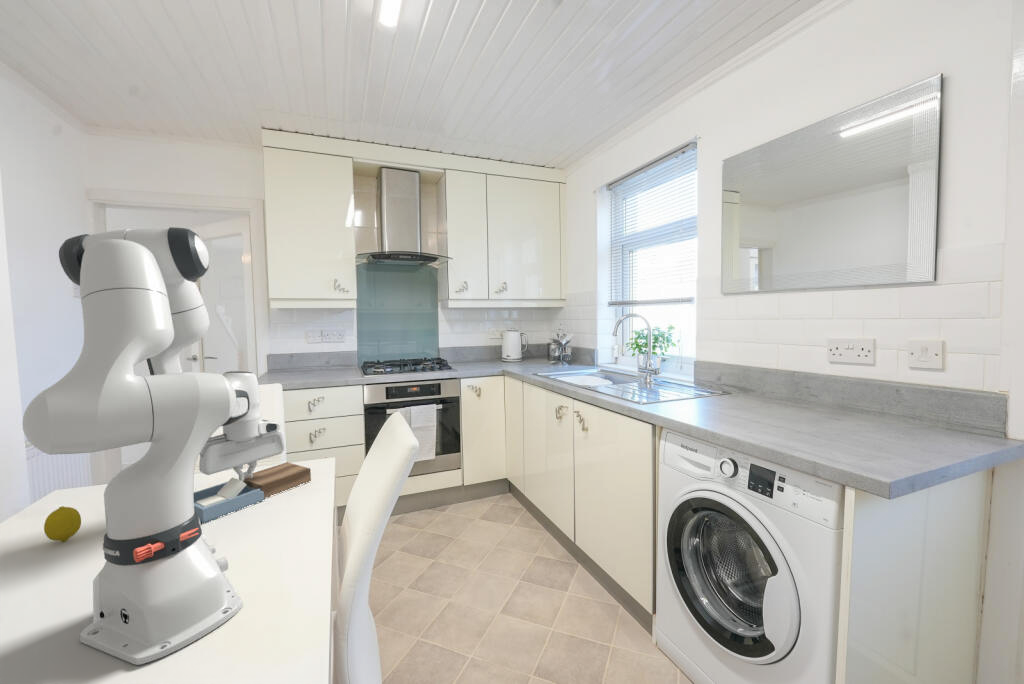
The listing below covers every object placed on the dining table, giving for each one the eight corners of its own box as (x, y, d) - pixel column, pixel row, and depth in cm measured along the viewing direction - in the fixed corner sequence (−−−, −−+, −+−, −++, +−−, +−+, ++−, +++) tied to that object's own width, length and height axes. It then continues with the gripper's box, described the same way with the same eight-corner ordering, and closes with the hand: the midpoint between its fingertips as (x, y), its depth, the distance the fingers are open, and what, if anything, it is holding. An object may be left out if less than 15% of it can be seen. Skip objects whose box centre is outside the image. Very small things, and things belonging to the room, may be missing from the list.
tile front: (204, 505, 101) (204, 513, 101) (226, 498, 105) (227, 505, 106) (195, 501, 104) (195, 509, 104) (217, 494, 108) (217, 501, 108)
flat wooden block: (311, 481, 122) (310, 468, 121) (262, 500, 110) (261, 485, 109) (287, 474, 128) (287, 462, 127) (239, 491, 116) (238, 477, 115)
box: (264, 500, 109) (263, 488, 109) (203, 523, 97) (202, 509, 97) (237, 490, 116) (236, 478, 116) (178, 511, 104) (177, 497, 104)
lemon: (43, 551, 87) (40, 515, 86) (48, 541, 91) (45, 506, 90) (80, 541, 90) (77, 506, 90) (84, 532, 94) (81, 498, 94)
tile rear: (246, 484, 110) (241, 480, 109) (231, 501, 106) (225, 497, 105) (237, 481, 112) (232, 477, 111) (222, 497, 109) (216, 493, 108)
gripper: (203, 441, 100) (207, 496, 101) (286, 422, 118) (288, 469, 119) (192, 438, 104) (196, 491, 104) (273, 420, 121) (276, 465, 122)
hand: (246, 479), depth 112 cm, fingers closed
